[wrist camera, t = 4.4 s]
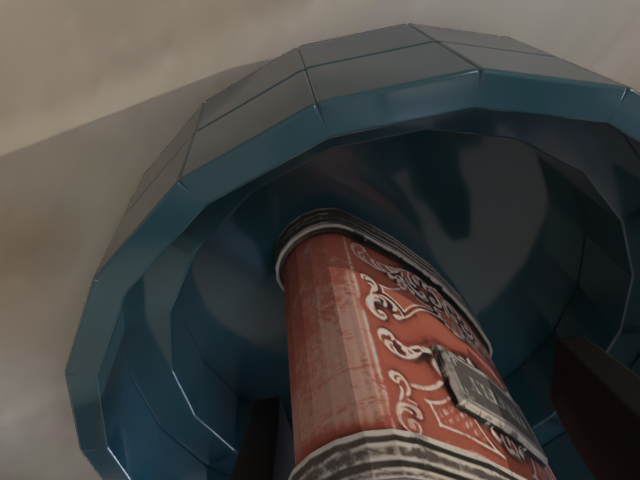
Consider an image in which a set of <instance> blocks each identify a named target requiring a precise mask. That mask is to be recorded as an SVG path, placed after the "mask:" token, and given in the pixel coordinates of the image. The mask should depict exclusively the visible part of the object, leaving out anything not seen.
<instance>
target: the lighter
mask: <svg viewBox="0 0 640 480" xmlns="http://www.w3.org/2000/svg"><path fill="white" fill-rule="evenodd" d="M275 266H276V279H277V282H278V284H279V285H280V287H281V289H282V290H283V292H284V295H285V311H286V326H287V342H288V358H289V374H290V390H291V406H292V422H293V438H294V454H295V468H294V469H293V470H292V472H291V474H290V476H289V479H288V480H556V478H555V476H554V474H553V473H552V471H551V469H550V467H549V465H548V458H547V456H546V455H545V453H544V451H543V449H542V447H541V445H540V444H539V442H538V440H537V438H536V436H535V434H534V433H533V431H532V429H531V427H530V425H529V423H528V422H527V420H526V418H525V416H524V414H523V412H522V411H521V409H520V407H519V405H518V404H517V403H516V402H514V400H513V398H512V397H511V395H510V393H509V391H508V389H507V387H506V385H505V384H504V382H503V380H502V378H501V376H500V374H499V372H498V371H497V369H496V367H495V365H494V363H493V361H492V359H491V356H492V352H493V351H492V347H491V344H490V342H489V340H488V338H487V337H486V335H485V333H484V331H483V329H482V328H481V326H480V324H479V323H478V321H477V320H476V318H475V317H474V315H473V314H472V312H471V311H470V310H469V308H468V307H467V305H466V304H465V302H464V301H463V299H462V298H461V296H460V295H459V294H458V293H457V292H456V291H455V290H454V289H453V288H452V287H451V286H450V285H449V284H448V282H447V281H446V280H445V279H444V278H443V277H442V276H441V275H440V274H439V273H438V272H437V271H436V270H435V269H434V268H433V267H432V266H431V265H430V264H429V263H427V262H426V261H425V260H423V259H422V258H421V257H419V256H418V255H417V254H415V253H414V252H413V251H411V250H410V249H408V248H407V247H406V246H404V245H403V244H402V243H400V242H399V241H398V240H396V239H395V238H394V237H392V236H390V235H389V234H387V233H385V232H383V231H381V230H380V229H378V228H376V227H374V226H372V225H370V224H369V223H367V222H365V221H363V220H361V219H360V218H358V217H356V216H354V215H352V214H351V213H349V212H347V211H343V210H340V209H337V208H318V209H315V210H312V211H309V212H306V213H303V214H301V215H300V216H299V217H297V218H296V219H294V220H293V221H292V222H290V223H289V224H288V225H287V226H286V228H285V229H284V230H283V232H282V233H281V234H280V236H279V238H278V241H277V244H276V247H275Z"/></svg>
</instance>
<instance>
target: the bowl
mask: <svg viewBox="0 0 640 480" xmlns="http://www.w3.org/2000/svg"><path fill="white" fill-rule="evenodd" d="M318 208H337V209H340V210H343V211H347V212H349V213H351V214H352V215H354V216H356V217H358V218H360V219H361V220H363V221H365V222H367V223H369V224H370V225H372V226H374V227H376V228H378V229H380V230H381V231H383V232H385V233H387V234H389V235H390V236H392V237H394V238H395V239H396V240H398V241H399V242H400V243H402V244H403V245H404V246H406V247H407V248H408V249H410V250H411V251H413V252H414V253H415V254H417V255H418V256H419V257H421V258H422V259H423V260H425V261H426V262H427V263H429V264H430V265H431V266H432V267H433V268H434V269H435V270H436V271H437V272H438V273H439V274H440V275H441V276H442V277H443V278H444V279H445V280H446V281H447V282H448V284H449V285H450V286H451V287H452V288H453V289H454V290H455V291H456V292H457V293H458V294H459V295H460V296H461V298H462V299H463V301H464V302H465V304H466V305H467V307H468V308H469V310H470V311H471V312H472V314H473V315H474V317H475V318H476V320H477V321H478V323H479V324H480V326H481V328H482V329H483V331H484V333H485V335H486V337H487V338H488V340H489V342H490V344H491V347H492V351H493V352H492V356H491V359H492V361H493V363H494V365H495V367H496V369H497V371H498V372H499V374H500V376H501V378H502V380H503V382H504V384H505V385H506V387H507V389H508V391H509V393H510V395H511V397H512V398H513V400H514V402H516V403H517V404H518V405H519V407H520V409H521V411H522V412H523V414H524V416H525V418H526V420H527V422H528V423H529V425H530V427H531V429H532V431H533V433H534V434H535V436H536V438H537V440H538V442H539V444H540V445H541V447H542V449H543V451H544V453H545V455H546V456H547V458H548V465H549V467H550V469H551V471H552V473H553V474H554V476H555V478H556V480H595V479H594V477H593V476H592V474H591V473H590V471H589V469H588V468H587V466H586V465H585V463H584V461H583V460H582V458H581V457H580V455H579V454H578V452H577V450H576V449H575V447H574V446H573V444H572V442H571V441H570V439H569V437H568V435H567V433H566V431H565V429H564V427H563V425H562V423H561V421H560V419H559V417H558V415H557V413H556V411H555V409H554V406H553V404H552V402H551V400H550V398H549V393H550V386H551V378H552V370H553V363H554V355H555V347H556V340H559V339H564V338H569V337H574V336H579V335H583V336H585V337H586V338H587V339H589V340H590V341H592V342H593V343H594V344H596V345H597V346H599V347H600V348H601V349H603V350H604V351H605V352H607V353H608V354H609V355H611V356H612V357H614V358H615V359H616V360H618V361H619V362H620V363H622V364H623V365H624V366H626V367H627V368H629V369H630V370H631V371H633V372H634V373H635V374H637V375H638V376H640V93H639V92H637V91H636V90H634V89H632V88H631V87H628V86H626V85H623V84H621V83H619V82H616V81H614V80H611V79H609V78H607V77H604V76H602V75H599V74H597V73H595V72H592V71H590V70H587V69H585V68H583V67H580V66H578V65H575V64H573V63H571V62H568V61H566V60H564V59H560V58H558V57H556V56H553V55H551V54H549V53H546V52H544V51H541V50H539V49H537V48H534V47H532V46H529V45H527V44H525V43H522V42H520V41H518V40H515V39H512V38H510V37H505V36H498V35H490V34H483V33H476V32H469V31H462V30H455V29H448V28H441V27H433V26H426V25H419V24H412V23H410V24H408V25H407V24H401V25H396V26H391V27H387V28H382V29H377V30H372V31H367V32H363V33H358V34H353V35H348V36H343V37H339V38H334V39H329V40H324V41H320V42H315V43H310V44H305V45H301V46H300V47H299V49H298V48H294V49H292V50H291V51H289V52H287V53H286V54H284V55H282V56H281V57H279V58H277V59H276V60H274V61H272V62H270V63H269V64H267V65H265V66H264V67H262V68H260V69H259V70H257V71H255V72H254V73H252V74H250V75H249V76H247V77H245V78H243V79H242V80H240V81H238V82H237V83H235V84H233V85H232V86H230V87H228V88H227V89H225V90H223V91H222V92H220V93H218V94H217V95H215V96H213V97H211V98H210V99H208V100H207V101H206V103H203V104H202V105H201V106H200V107H199V109H198V110H197V111H196V112H195V114H194V115H193V116H192V117H191V118H190V120H189V121H188V122H187V123H186V124H185V126H184V127H183V128H182V129H181V130H180V132H179V133H178V134H177V135H176V136H175V138H174V139H173V140H172V141H171V143H170V144H169V145H168V146H167V147H166V149H165V150H164V151H163V152H162V153H161V155H160V156H159V157H158V158H157V159H156V161H155V162H154V163H153V164H152V165H151V167H150V168H149V169H148V170H147V172H146V173H145V174H144V176H143V178H142V180H141V182H140V184H139V186H138V188H137V190H136V192H135V194H134V196H133V198H132V200H131V202H130V204H129V206H128V209H127V211H126V213H125V215H124V217H123V219H122V221H121V222H120V224H119V226H118V228H117V230H116V233H115V235H114V237H113V239H112V241H111V243H110V245H109V247H108V249H107V251H106V253H105V255H104V257H103V259H102V261H101V263H100V265H99V267H98V269H97V271H96V273H95V275H94V277H93V280H92V283H91V286H90V289H89V293H88V296H87V299H86V303H85V306H84V309H83V313H82V316H81V319H80V322H79V326H78V329H77V332H76V336H75V339H74V342H73V346H72V349H71V352H70V356H69V359H68V362H67V366H66V369H65V372H66V373H65V376H66V381H67V386H68V391H69V396H70V401H71V406H72V411H73V417H74V422H75V427H76V432H77V437H78V442H79V447H80V450H82V453H83V454H84V456H85V457H86V458H87V460H88V461H89V462H90V464H91V465H92V466H93V468H94V469H95V470H96V472H97V473H98V474H99V475H100V477H101V478H102V479H103V480H229V479H230V476H231V473H232V470H233V467H234V464H235V461H236V458H237V455H238V451H239V448H240V445H241V442H242V438H243V434H244V431H245V427H246V423H247V419H248V415H249V410H250V406H251V404H252V403H253V402H254V401H257V400H262V399H267V398H272V397H277V396H280V399H281V402H282V405H283V408H284V411H285V414H286V417H287V420H288V423H289V426H290V429H291V432H292V435H293V422H292V406H291V390H290V374H289V358H288V342H287V326H286V311H285V295H284V292H283V290H282V289H281V287H280V285H279V284H278V282H277V279H276V266H275V247H276V244H277V241H278V238H279V236H280V234H281V233H282V232H283V230H284V229H285V228H286V226H287V225H288V224H289V223H290V222H292V221H293V220H294V219H296V218H297V217H299V216H300V215H301V214H303V213H306V212H309V211H312V210H315V209H318Z"/></svg>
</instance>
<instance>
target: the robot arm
mask: <svg viewBox="0 0 640 480" xmlns="http://www.w3.org/2000/svg"><path fill="white" fill-rule="evenodd" d="M549 398H550V400H551V402H552V404H553V406H554V409H555V411H556V413H557V415H558V417H559V419H560V421H561V423H562V425H563V427H564V429H565V431H566V433H567V435H568V437H569V439H570V441H571V442H572V444H573V446H574V447H575V449H576V450H577V452H578V454H579V455H580V457H581V458H582V460H583V461H584V463H585V465H586V466H587V468H588V469H589V471H590V473H591V474H592V476H593V477H594V479H595V480H640V376H638V375H637V374H635V373H634V372H633V371H631V370H630V369H629V368H627V367H626V366H624V365H623V364H622V363H620V362H619V361H618V360H616V359H615V358H614V357H612V356H611V355H609V354H608V353H607V352H605V351H604V350H603V349H601V348H600V347H599V346H597V345H596V344H594V343H593V342H592V341H590V340H589V339H587V338H586V337H585V336H583V335H579V336H574V337H569V338H564V339H559V340H556V347H555V355H554V363H553V370H552V378H551V386H550V393H549ZM294 468H295V454H294V438H293V435H292V432H291V429H290V426H289V423H288V420H287V417H286V414H285V411H284V408H283V405H282V402H281V399H280V396H277V397H272V398H267V399H262V400H257V401H254V402H253V403H252V404H251V406H250V410H249V415H248V419H247V423H246V427H245V431H244V434H243V438H242V442H241V445H240V448H239V451H238V455H237V458H236V461H235V464H234V467H233V470H232V473H231V476H230V479H229V480H288V479H289V476H290V474H291V472H292V470H293V469H294Z"/></svg>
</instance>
